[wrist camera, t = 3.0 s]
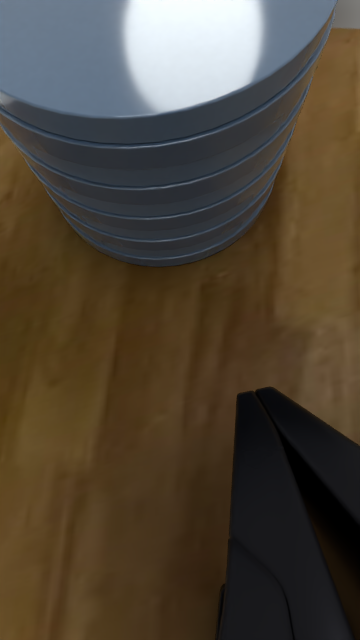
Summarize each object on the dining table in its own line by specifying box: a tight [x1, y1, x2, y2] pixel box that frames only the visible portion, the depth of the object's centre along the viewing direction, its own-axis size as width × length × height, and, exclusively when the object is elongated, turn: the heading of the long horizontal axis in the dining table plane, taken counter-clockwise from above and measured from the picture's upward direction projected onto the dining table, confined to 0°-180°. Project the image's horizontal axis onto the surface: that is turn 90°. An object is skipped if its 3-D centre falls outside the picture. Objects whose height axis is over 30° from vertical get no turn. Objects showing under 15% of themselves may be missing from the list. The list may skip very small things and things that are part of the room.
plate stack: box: [0, 0, 338, 267], centre depth 19 cm, size 17×17×12 cm
